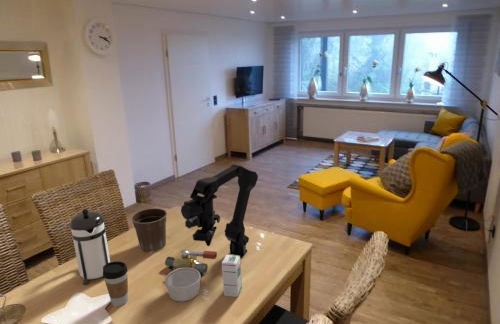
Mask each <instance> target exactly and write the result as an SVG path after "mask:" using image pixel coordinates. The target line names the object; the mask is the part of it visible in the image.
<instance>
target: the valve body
mask: <svg viewBox="0 0 500 324" xmlns="http://www.w3.org/2000/svg"><path fill="white" fill-rule="evenodd" d="M197 258H198V256H188V257H182V255H181V251H180V252H179V253H178V254H177V255H176V256H175V257H173V256H167V257H166V259H165V261H164V265H165V266H166V267H167V270H170V271H174V270H176V269H179V268H194V269H196V270H198V271H199V273H200V276H201V277H203V275H204V274H206V273H207V271H208V269H209V266H208V263H205V262H200V261H199V260H198V259H197Z"/></svg>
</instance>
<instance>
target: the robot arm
mask: <svg viewBox="0 0 500 324" xmlns="http://www.w3.org/2000/svg"><path fill="white" fill-rule="evenodd" d="M236 177H237V184H238V187H239V189H238V194H237V197H236V202H235V206H234V211H233V215H232V218H231V221H230V222H226V224H225V229H224V236H225V237H226V240H227V241H229V242H230V243H229V254H228V255H238V256H240V259H243V258H244V256H245V255H246V254H247V253H248V249H247V243H249V240H250V237H248V236H247V235H246V234H245V233H246V228H245V224H244V220H245V216H246V211H247V207H248V203H249V199H250V194H251V191H252V190H253V189H254V188H255V187H256V184H257V181H258V178H259V176H258V173H257V172H256V171H254V170H251V169H250V170H249V169H247V168H245V167H243V166H242V165H239V164H235V163H234V164H232V165H231V166H230V167H228V168H226V169H224V170H222V171H221V172H219V173H217V174H215V175H213V176H210V177H204V178H201V179H198V180H197V181H196V182H195V185H194V188H193V190H192V192H191V194H190V197H189V199H190V200H189V199H188V200H186V201H184V202H183V205H182V206H181V209H180V214H181V215H182V217H183V218H184V219H185V225H184V226H185V227H186V228H187V229H192V228H194V227H195V228H196V227H197V229H196V230H195V232H194V233H193V235H192V240H193V241H196V242H197V241H198V242H204V243H205V244H206V246H207V247H210V245H211V244H212V241H213V238H214V235H215V234H216V230H217V226H215V224H216V223H217V224H219V223H220V222H221V216H220V215H219V214H216V211H215V209H214V200H215V199H217V198H218V196H217V195H216V193H217V192H218V190H219V188H220V187H222V186H223V185H225V184H226V183H228V182H230V181H232V180H233V179H234V178H236ZM201 195H202V196H201ZM198 228H199V229H198Z"/></svg>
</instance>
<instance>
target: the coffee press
mask: <svg viewBox="0 0 500 324" xmlns="http://www.w3.org/2000/svg"><path fill="white" fill-rule="evenodd" d="M104 222H105V217H104V215H102V214H101V213H100V212H98V211H94V210H93V211H91V210H90V211H89V210H88V209H87V208H84V209H82V211H81V213H78V214H76V215H75V216H73V217H72V218H71V219H70V222H69V223H68V226H69V228H70V230H71V238H72V241H73V246H74V252H75V256H76V261H77V267H78V271H79V275H80V277H81V278H83V279H82V280H83V281H82V285H83V286H87V285H88V284H89V282H90V280H96V279H99V278H102V277H103V266H104V265H106V264H107V263H109V262H111V260H110V252H109V245H108V241H107V240H108V239H107V234H106V233H107V232H106V231H107V230H106V225H105V223H104Z"/></svg>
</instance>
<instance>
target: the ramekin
mask: <svg viewBox="0 0 500 324" xmlns="http://www.w3.org/2000/svg"><path fill="white" fill-rule="evenodd" d="M201 277H202V276H200V273H199V271H198V270H196V269H194V268H179V269H176V270H175V269H173V270H171V271H170V272H169V273H168V274H167V275H166V277H165V279H164V285H165V287H166V290H167V293H168V296H169V297H170V299H172V300H174V301H176V302H187V301H190V300H193V299H194V298H195V297H197V296H198V294H199V293H200V290H201Z"/></svg>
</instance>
